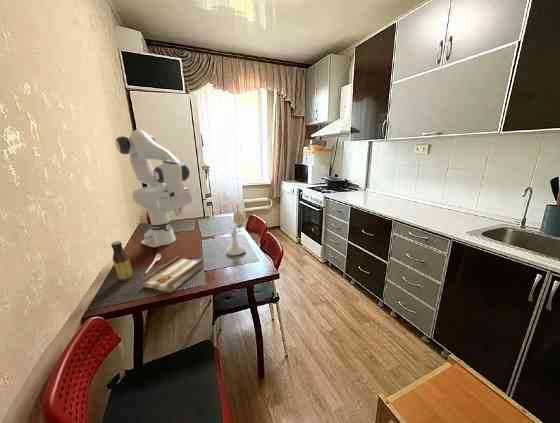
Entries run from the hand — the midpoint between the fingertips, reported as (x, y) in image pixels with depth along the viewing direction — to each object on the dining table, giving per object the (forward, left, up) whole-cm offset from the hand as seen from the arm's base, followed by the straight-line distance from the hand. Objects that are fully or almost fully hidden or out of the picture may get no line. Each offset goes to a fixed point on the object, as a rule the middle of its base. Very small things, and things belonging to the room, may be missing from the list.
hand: (178, 215), depth 128 cm
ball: (+8, -25, -24) cm, 36 cm away
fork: (-13, -12, -27) cm, 32 cm away
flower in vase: (+26, +13, -26) cm, 40 cm away
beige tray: (+8, -18, -26) cm, 33 cm away
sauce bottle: (-15, -27, -26) cm, 40 cm away
